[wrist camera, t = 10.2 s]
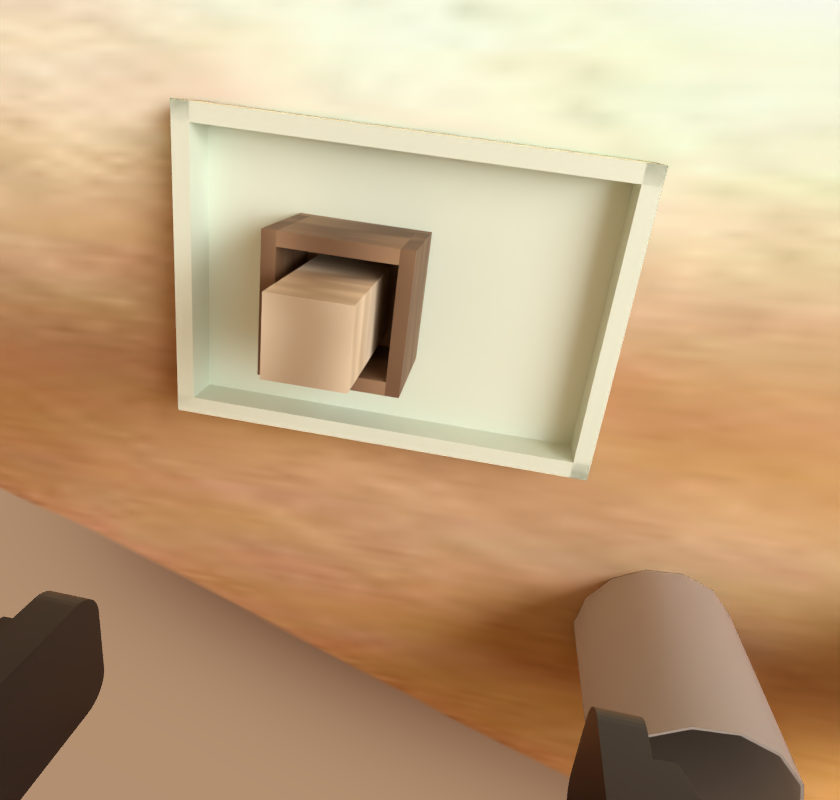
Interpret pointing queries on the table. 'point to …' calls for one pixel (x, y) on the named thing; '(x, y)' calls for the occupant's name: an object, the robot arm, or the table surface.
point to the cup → (684, 684)
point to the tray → (445, 281)
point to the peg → (325, 322)
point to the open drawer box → (365, 241)
